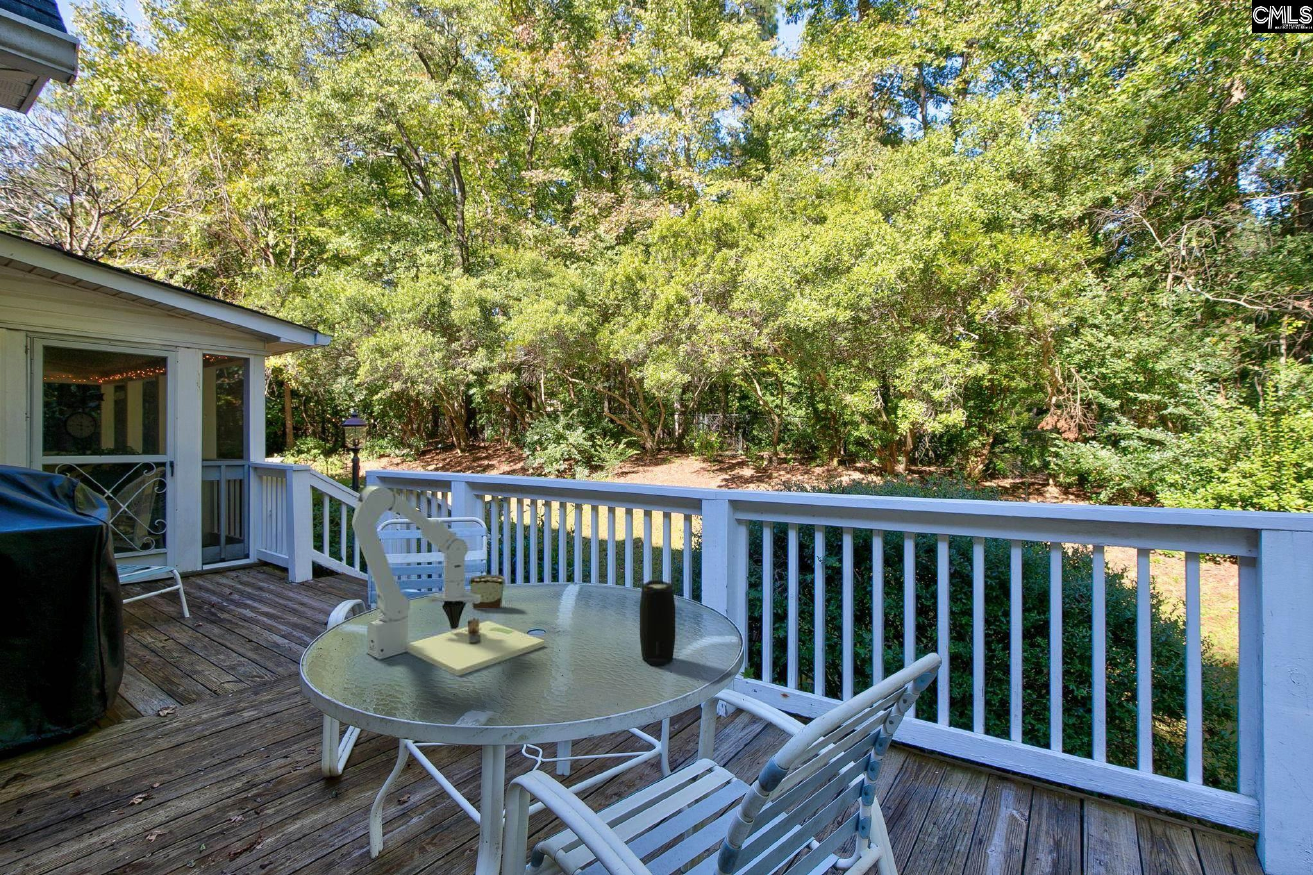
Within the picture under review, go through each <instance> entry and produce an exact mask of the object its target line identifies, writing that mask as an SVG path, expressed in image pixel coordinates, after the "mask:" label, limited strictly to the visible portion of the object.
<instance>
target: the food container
mask: <svg viewBox="0 0 1313 875" xmlns="http://www.w3.org/2000/svg"><path fill="white" fill-rule="evenodd" d="M506 584H507V583H506V578H505V577H504V576H503V575H500V574H499V575H498V574H482V575H477V576H473V577H470V578H469V580H468V585H470V594H475V595H481V602H480V603H478V604H476V603H471V604H472V610H502V605H503V597H504V596H503V594H504V586H506Z"/></svg>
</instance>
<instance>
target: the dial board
mask: <svg viewBox="0 0 1313 875" xmlns="http://www.w3.org/2000/svg"><path fill="white" fill-rule="evenodd" d="M476 634H479V635H481V642H479V643H469V636H471V635H472V634H469V633H468V626H466V627H465V626H464V627H463V628H459V629H458V628H457V629H454V630H452V631H449V632H448V631H447V632H445V633H442V634H441V633H440V634H438V635H437V634H436V635H434V636H430V637H427V638H423V639H420V640H416V641H412V642H408V644H407V645H406V649H407V650H408V651H407V652H406V653H409V654H411V655H413V656H415V657H416V658H419V659H421V660H424V661H425V662H427V663H430V664H432V665H433V666H436V667H438V668H439V669H441V670H444V671H446V672H449V673H451V674H453V675H455V676H456V677H459V676H462V675H464V674H467V673H471V672H474V671H476V670H479V669H482V668H485V667H489V666H491V665H493V664H494V665H495V664H497V663H500V662H502V661H505V660H508V659H511V658H514V657H517V656H519V655H522V654H525V653H529V652H531V651H535V650H536V649H539V648H543V647H545V640H544V639H540V638H538V637H535V636H532V635H529V634H526V633H525V632H524V633H523V632H521V631H519V630H515V629H512V628H510V627H507V626H504V625H502V624H500V623H499V624H498V623H495V622H493V621H490V620H487V621H484V622H479V632H478V633H476Z"/></svg>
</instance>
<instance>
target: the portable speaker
mask: <svg viewBox="0 0 1313 875" xmlns="http://www.w3.org/2000/svg"><path fill="white" fill-rule="evenodd" d="M673 586H674V584H673V583H671V582H667V581H664V580H661V579H650V580H648V581H647V582H645V583H642V587H641V591H640V592H641V593H640V600H639V641H640V642H639V643H640V652H641V659H642V661H646V662H647V663H648V665H649V666H651V667H662V665H663V666H665V664H666V663H668V661H670V660H671V661H673V659H674V652H675V644H676V602H675V595H674V589H673V588H674V587H673Z"/></svg>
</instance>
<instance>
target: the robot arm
mask: <svg viewBox="0 0 1313 875" xmlns="http://www.w3.org/2000/svg"><path fill="white" fill-rule="evenodd" d="M387 511H389V512H392V513H398V514H400V515H401V516H402V517H404V518H405V519H407V521H409V522H411V523H413V524H414V525H415V526H417V528H419V529H420V535H421V537H422V538H424V539H425V540H426V541H427V542H428V543H430V544H432V545H433V547H436V548H437V549H438V550H440V552H441V554H444V555H443V592H442V593H430V594H428V596H427V598H428V599H427V600H428V602H427V603H433V602H434V603H443V604H442V609H443V611H444V613H445V615H446V617H447V619H448V622H449V626H450V629H451V630H457V629H458V628H459V625H460V621H461V620H460V619H461V616H462V613H463V612H464V609H465V607H466V606H467V603H468V604H469V603H471V604H472V603H476V604H478V603H480V602H481V595H475V594H471V593H468V592H467V593H466V556H467V554H468V552H469V547H468V545H467V542H466V541H465V540H464V539H462V538H461V537H458V536H457V535H458V534H457V532H455V531H452V530H450V529H449V528H448V527H447V526H446V525H445V521H443V520H441V519H439V520H438V519H436V518H435V519H429V518H427V517H426V516H425V515H424V514H423V513H421V512H420V511H419V510H418V509H417V508H415V507H414V506H413V505H412V504H411V503H410V502H408V501H407V500H406V499H405V498H403V497H402V496H400V495H399V494H397V493H395V492H392V491H391V490H390V489H389V488H387V487H383V486H380V485H378V484H371V485H368V486H365V488H363V489H362V491H361V493H360V494H359V495H358V497H357V498H356V505H355V508H354V513H353V515H352V516H353V517H352V519H351V520H352V521H351V525H352V529H353V532H354V534H355V536H356V539H357V541H358V544H359V547H360V551H361V552H362V554H363V557H364V560H365V562H366V565H367V568H368V570H369V573H370V574H371V578H372V580H373V583H374V585H375V592H376V595H377V598H376V606H377V608H378V609H379V610H380V612H379V613H378V616H377V619H376V620H374V621H372V622H369V623H368V625H367V628H366V629H367V631H366V638H367V640H366V641H367V642H366V646H367V647H366V649H365V650H366V651H365V653H367V654H368V655H370V656H372V657H374V658H376V659H377V660H382V659H386V658H388V657H389V658H390V657H392V656H397V655H400V654H402V653H403V654H404V653H408V652H407V651H408V650H407V649H406V645H407V644H408V643H409V634H408V633H409V628H408V627H409V621H408V620H409V616H408V615H409V610H410V607H411V604H410V600H409V599H408V597H406V596H405V595H404V594H403V593H402V591H401V590H402V589H401V588H400V587H399V584H398V582H397V581H396V579H395V577H394V574H393V571H392V569H391V566H390V563H389V561H388V558H387V555H386V553H385V549H384V548H383V544H382V542H381V539H380V537H379V533H378V532H377V528H376V524H377V523H378V521H379V519H380V518H381V516H382V515H384V514H385V512H387Z"/></svg>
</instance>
